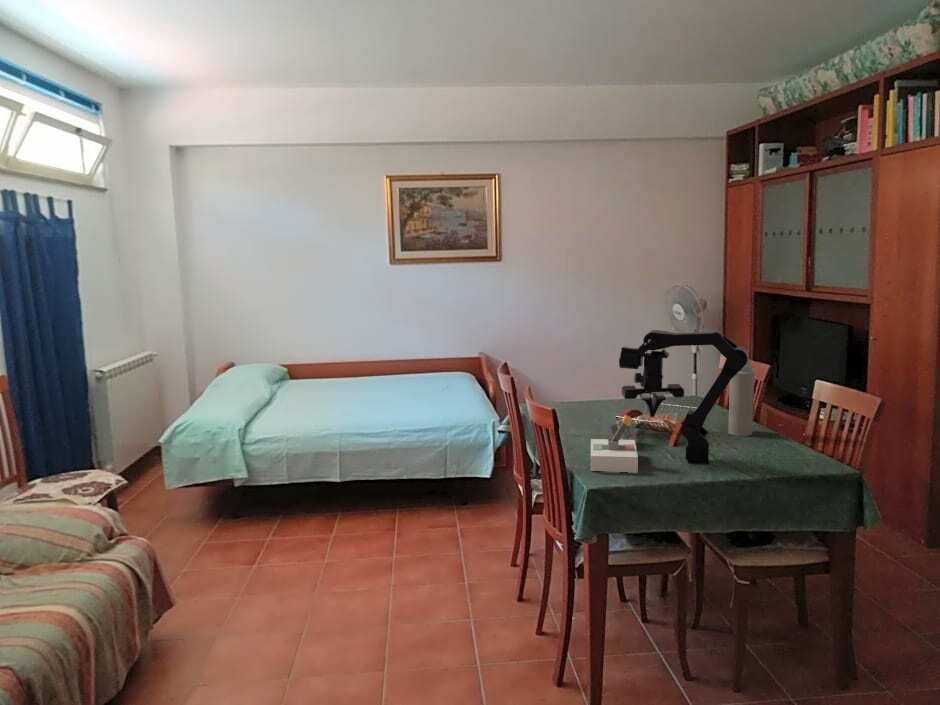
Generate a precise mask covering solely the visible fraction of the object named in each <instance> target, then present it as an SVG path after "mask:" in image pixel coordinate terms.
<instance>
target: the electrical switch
mask: <svg viewBox="0 0 940 705" xmlns="http://www.w3.org/2000/svg"><path fill="white" fill-rule="evenodd" d="M628 416H629V415H628ZM629 417H631V416H629ZM621 424H622V419H619V420H618V421H615V422H613V423H612V424H610V429H611V432H612V438H613V437H614V435H615V433H616V432H617V430H618V429H619V427H620V425H621ZM619 440H635V444H636V443H637V442H638V439H637V435H636V432H635V428H634V423H633V422H632V423H631V425H630V426H627V428H626V430H625V431H624V433H623V435H622V436H621V438H620V439H619Z"/></svg>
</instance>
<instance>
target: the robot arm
mask: <svg viewBox="0 0 940 705" xmlns="http://www.w3.org/2000/svg"><path fill="white" fill-rule="evenodd" d="M682 346H684V347H687V346H689V347H690V346H713V347H715V349H717V351H718V352H719V353H720V354H721V355H722V356H723V357H724V358H726V359H725V361H724V364H723V366H722V369H721V371H720V373H719V374H718V376H717V377H716V378H715V380H714V382H713V383H712V384H711V386H710V387H709V390H708V391H707V392H706V394H705V395H704V397H703V399H702V400H701V402H700V403H699V405H698V406H697V407H696V408H695V409H694V410H692V409H691V408H689V409H688V412H687V413H686V416H684V417H683V418H682V421H681V422H680V425H681V427H680V433H681V435H682V437H684V438H685V440H686V444H685V445H684V458H685V460H686V462H687V464H695V465H696V464H700V465H701V464H702V465H708V464H709V465H710V459H709V458H710V457H709V454H710V453H709V452H710V448H709V447H710V443H709V441H708V438H709V434H710V432H708V430H707V429H706V428H704V424H705V422H706V419H707V416H708V415H709V414H710V412H711V411H712V409H713V408H714V406H715V404H716V402H717V401H718V400H719V398H720V397H721V395H722V394H723V392H724V391H725V390H726V388H727V386H728V384H730V380H731V379H732V378H733V377H734V376H735V375H736V374H737V373H738V372H739V371H740V370H741V369H742V368H743V367H744V366H745V365H746V363H747V361H748V358H749V356H750V355H749V352H748V350H747V349H746V348H745V347H743V346H738V345H737V344H736V343H735V342H733V341H732V340H731V339H729V338H728V337H726V336H725V334H723V333H722V331H719V330H714V331H698V332H696V331H695V332H694V331H693V332H671V331H667V330H660V329H652V330H650V331H649V332H647V333H646V335H645V336H644V337H643V340H642V344H641V345H639V346H638V348H637V347H636V348H635V347H627V346H623V347H621V350H620V356H619V359H618V362H619V363H618V365H619V366H618V367H619V369H630V370H639V368H640V367H642V366H643V371H642V372H643V373H641V372H635V373H634V376H633V377H634V378H633V380H634V383H635V384H640V386H641V387H642V388H637V387H636V386H635V385H623V386H622V387H621V395H622V397H623V398H624V399H625V400H634V399H637V397H638V395H639V397H640V399H641V400H642V402H643V401H644V403H645V405H646V407H647V410H648V413H649V415H650V418H654V417H655V415H656V414H657V411H658V410H659V407H660V405H661V404H662V403H663V401H666V400H667V398H666V397H665V396H666V394H667V395H669V394H670V395H672V396H673V397H674V398H683V397H685V389H684V388H683V387H682V385H681V384H679V383H668V384H667V387H663V379H664V376H663V368H664V367H663V364H664V363H663V360H664V359H668V358H669V357H670V353H669V352H668V351H667V350H666V349H668V348H672V347H682ZM648 351H651V352H648ZM651 395H652V396H651Z"/></svg>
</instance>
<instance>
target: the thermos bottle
mask: <svg viewBox="0 0 940 705" xmlns="http://www.w3.org/2000/svg"><path fill="white" fill-rule="evenodd" d="M754 392H755V371H754V370H753V364H752V363H751V355H749V358H748V361H747V363H746V365H745V366H744V367H743V368H742V369H741V370H740V371H739V372H738V373H737V374H736V375H735V376H734V377H733V378H732V379H731V380H730V382H729V393H728V394H729V396H728V398H729V400H728V404H729V406H728V409H729V410H728V431H727V432H728V434H730V435H733V436H737V437H738V436H739V437H748V436H751V435H753V428H754V427H753V426H754V425H753V424H754V397H755V396H754V394H755V393H754Z"/></svg>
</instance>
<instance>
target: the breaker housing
mask: <svg viewBox="0 0 940 705" xmlns="http://www.w3.org/2000/svg"><path fill="white" fill-rule="evenodd" d="M612 438H613V437H608V439H606V438H604V439H603V438H600V439H599V438H591V439H590V472H591V471H608V472H607V473H610V472H609V471H612V472H611V473H620V472H628V473H627V474H629V473H630V474H638V473H639V466H638V465H639V456H638V450H637V444H636V443H635V440H619V441H618V442H610V440H611V439H612Z"/></svg>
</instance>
